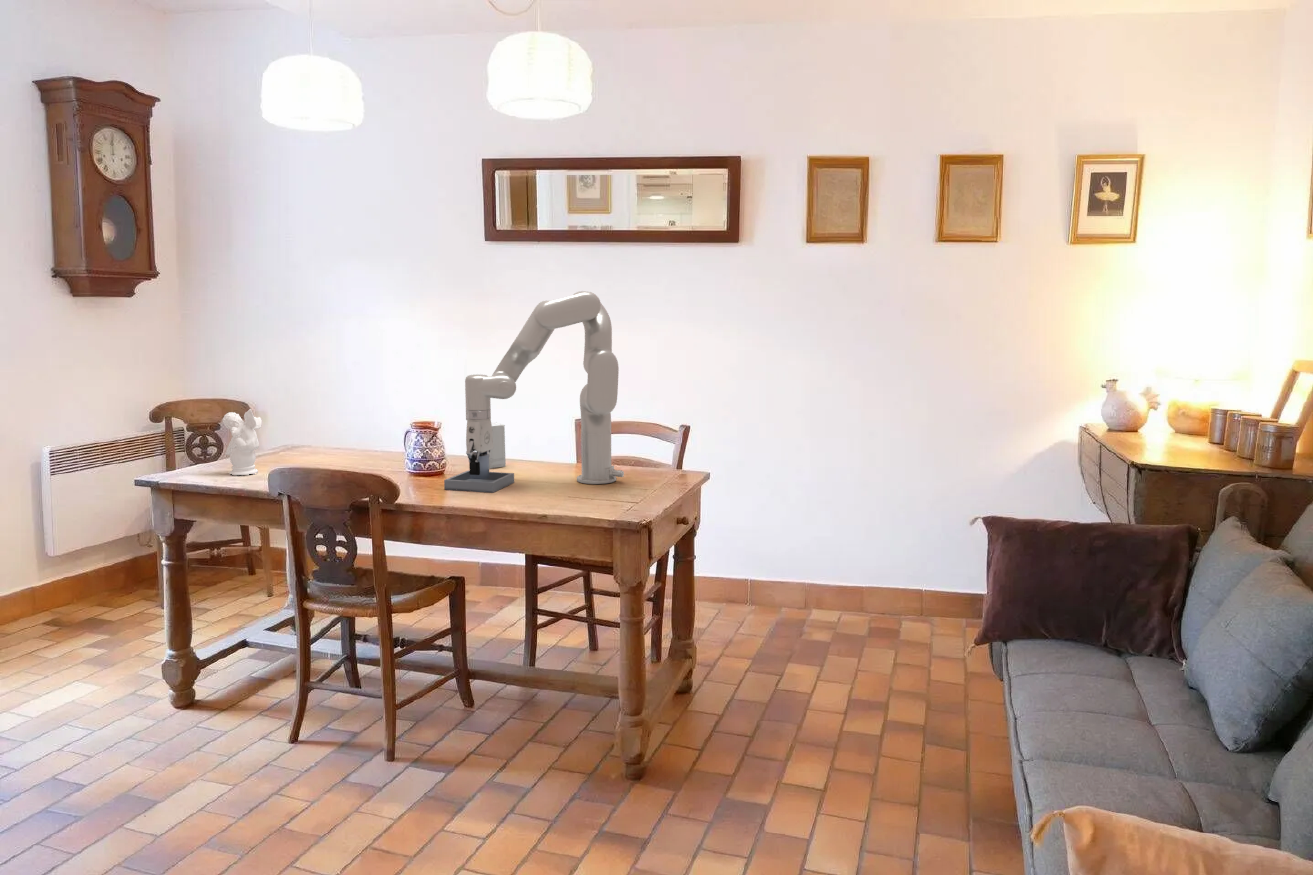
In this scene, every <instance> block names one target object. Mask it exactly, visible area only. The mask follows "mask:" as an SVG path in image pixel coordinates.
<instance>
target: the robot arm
mask: <svg viewBox="0 0 1313 875" xmlns="http://www.w3.org/2000/svg"><path fill="white" fill-rule="evenodd" d="M580 323H582V325H583V329H584V347H583V348H584V350H583V351H584V354H583V363H582V365H583V369H584V371H585V372H586V373H587V383H586V384H585V385H584V386H583V387H582V389H581V391H580V395H579V408H580V420H581V421H580V422H581V424H580V426H581V427H580V428H581V431H580V432H581V434H580V435H581V436H580V437H581V438H580V439H581V441H580V443H581V445H580V447H581V448H580V449H581V474H579V475H577V477H576V481H577V482H578V483H581V484H587V485H604V484H610V483H611V484H612V483H614V482H616V481H617V478H623V477H624V475H625V472H624V471H623V470H620V469H618V470H617V469H615V465H612V413H611V412H613V411H614V409H615V408H616V405H617V403H618V401H617V400H618V392H619V371H620V370H619V362H618V359H617V358H618V357H616V355H615V354H614V352H613V350H612V348H613V339H612V338H613V329H612V328H613V326H612V322H611V317H610V315H609V313H608V311H607V309H606V307H605V306H604V305H603V304H602V302H601V300H600V298H599V296H598V295H596V294H595V293H593V292H591V291H584V290H581V291H576V292H575V293H573V294H572V295H569V296H566V297H562V298H558V299H553V300H542V301H540V302H539V303H538V304H537V305H536V306H535V307H534V309H533V311H532V312H531V314H530V315H529V317H528V318H527V320H526V322H525V324H524V325H523V327H522V328H521V330H520V331H519V333H518V334H517V336H516V338H515V339H514V341H513V342H512V344H511V345H510V347H509V348H508V350H507V351H506V353H505V354H504V355H503V357H502V359H501V360H500V362H499V363H498V365H497V366H496V368H495V370H494V371H493V373H492V375H491V376H488V375H487V374H469V375H467V376H466V377H465V379H464V390H465V391H464V392H465V393H464V394H465V420H466V430H465V431H466V433H465V434H466V437H465V445H466V446H465V448H466V451H465V454H466V455H467V458H468V463H469V464H468V465H469V469H470V470H469V469H468V470H469V471H470V475H480V462H478V460H479V453H485V454H489V453H490V450H491V449H492V448H493V433H492V424H491V423H492V420H491V419H492V417H491V416H492V414H491V413H492V410H491V405H492V404H491V399H498V400H507V399H509V398H512V397H513V396H514V395H515V393H516V392H517V383H516V382H517V381H518V379H519V377H521V374H522V373H523V371H524V370H525V369H526V368H527V367H528V365H529V364H530V363H531V362H532V361H534V360H535V359H536V358H537V357H538V356H539V355H540V354H541V352H542V350H543V349H544V347H545V346H546V344H547V342H548V340H549V339H550V337H551V336H552V334H553V332H554V331H555V329H556V330H557V329H560V328H565V327H568V326H572V325H575V324H580ZM473 454H476V457H475V455H473ZM489 457H490V455H489Z"/></svg>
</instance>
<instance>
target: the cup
mask: <svg viewBox="0 0 1313 875" xmlns="http://www.w3.org/2000/svg"><path fill="white" fill-rule="evenodd" d="M473 455H475V457H476V454H473ZM478 462H480V475H470V478H471V479H486V478H489V472H490V469H489V454H485V453H479V460H478ZM468 471H470V469H468Z"/></svg>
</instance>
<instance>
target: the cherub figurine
mask: <svg viewBox="0 0 1313 875" xmlns="http://www.w3.org/2000/svg"><path fill="white" fill-rule="evenodd" d="M243 419H244V420H243ZM243 419H242V417H241V416H240V414H239V413H236V412H233V411H232V412H227V413H226V414H224V415H223V418H222V422H223V425H224V427H225V428H226V429H229V432H230V433H231V439H230V441H229V443H228V446H227V448H226V450H225V454H224V455H226V456H227V455H228V456H229V460H230V463H231V465H232V466H231V469H232V470H230V471H229V475H230V474H232V475H249V474H253V475H256V474H255V473H257V474H258V473H259V470H258V469H257V468H255V467H256V464H255V462H256V460H257V459H256V458H257V454H256V452H255V450H258V449H259V447H260V442H259V438H258V435H257V431H256V430H259V429H261V428H262V424H263V418H261V416H257V417H256V416H255V415H254V412H253V410H252V408H249V409H248V410H247V411H245V413H244V415H243ZM232 475H231V476H232ZM249 476H250V475H249Z"/></svg>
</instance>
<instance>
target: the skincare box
mask: <svg viewBox="0 0 1313 875" xmlns="http://www.w3.org/2000/svg"><path fill="white" fill-rule="evenodd" d="M491 424H492V433H493V448H492V449H491V450H490V453H489V455H490V457H489V470H490V469H496V468H497V469H498V468H502V467H506V466H507V465H506V436H505V432H506V431H505V426H506V425H505V424H503V423H498V422H491Z"/></svg>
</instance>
